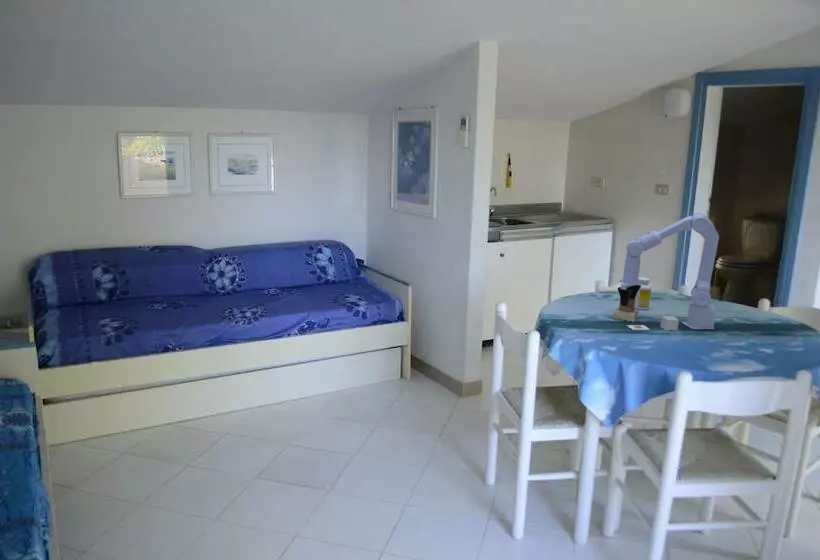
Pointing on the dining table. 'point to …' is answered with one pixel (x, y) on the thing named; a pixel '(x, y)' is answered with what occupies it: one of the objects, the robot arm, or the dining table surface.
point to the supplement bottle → (643, 294)
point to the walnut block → (628, 306)
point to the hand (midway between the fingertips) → (627, 303)
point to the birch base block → (626, 315)
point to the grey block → (669, 323)
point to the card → (638, 327)
